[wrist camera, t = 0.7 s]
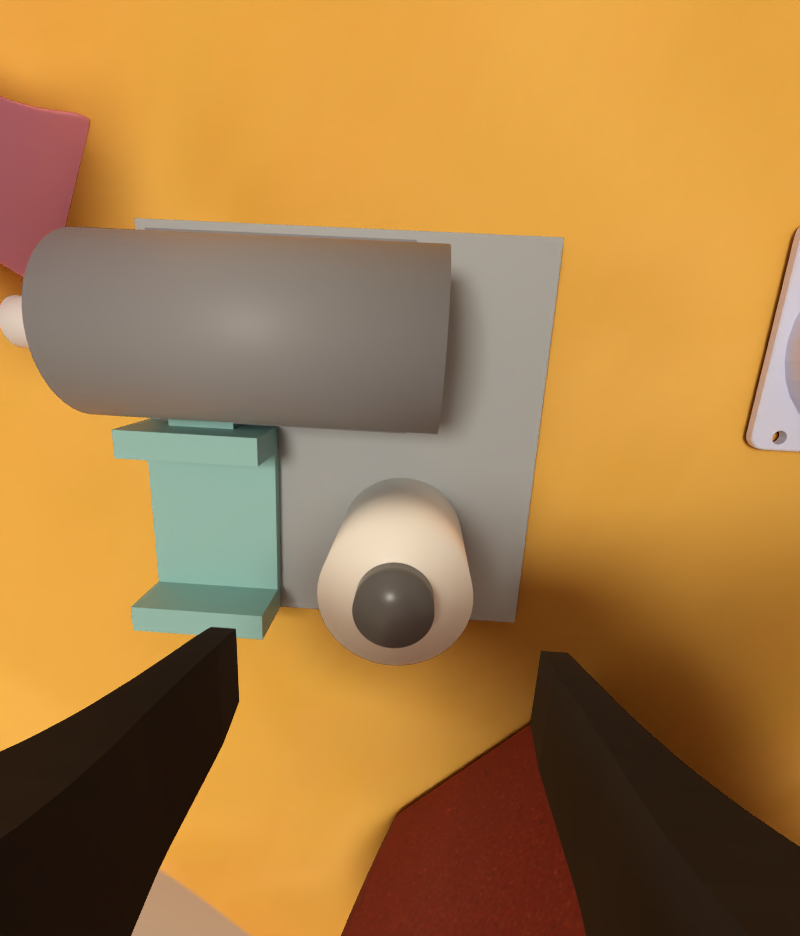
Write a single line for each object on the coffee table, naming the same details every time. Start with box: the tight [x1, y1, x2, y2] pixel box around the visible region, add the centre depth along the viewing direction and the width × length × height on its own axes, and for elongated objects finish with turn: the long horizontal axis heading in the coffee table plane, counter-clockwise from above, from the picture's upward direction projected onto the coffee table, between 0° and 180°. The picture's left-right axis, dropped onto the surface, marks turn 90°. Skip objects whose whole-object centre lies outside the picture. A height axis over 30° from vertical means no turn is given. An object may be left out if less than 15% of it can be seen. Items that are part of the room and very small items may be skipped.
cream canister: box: [317, 478, 473, 665], centre depth 17 cm, size 5×5×6 cm
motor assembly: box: [0, 218, 564, 640], centre depth 16 cm, size 17×15×6 cm
